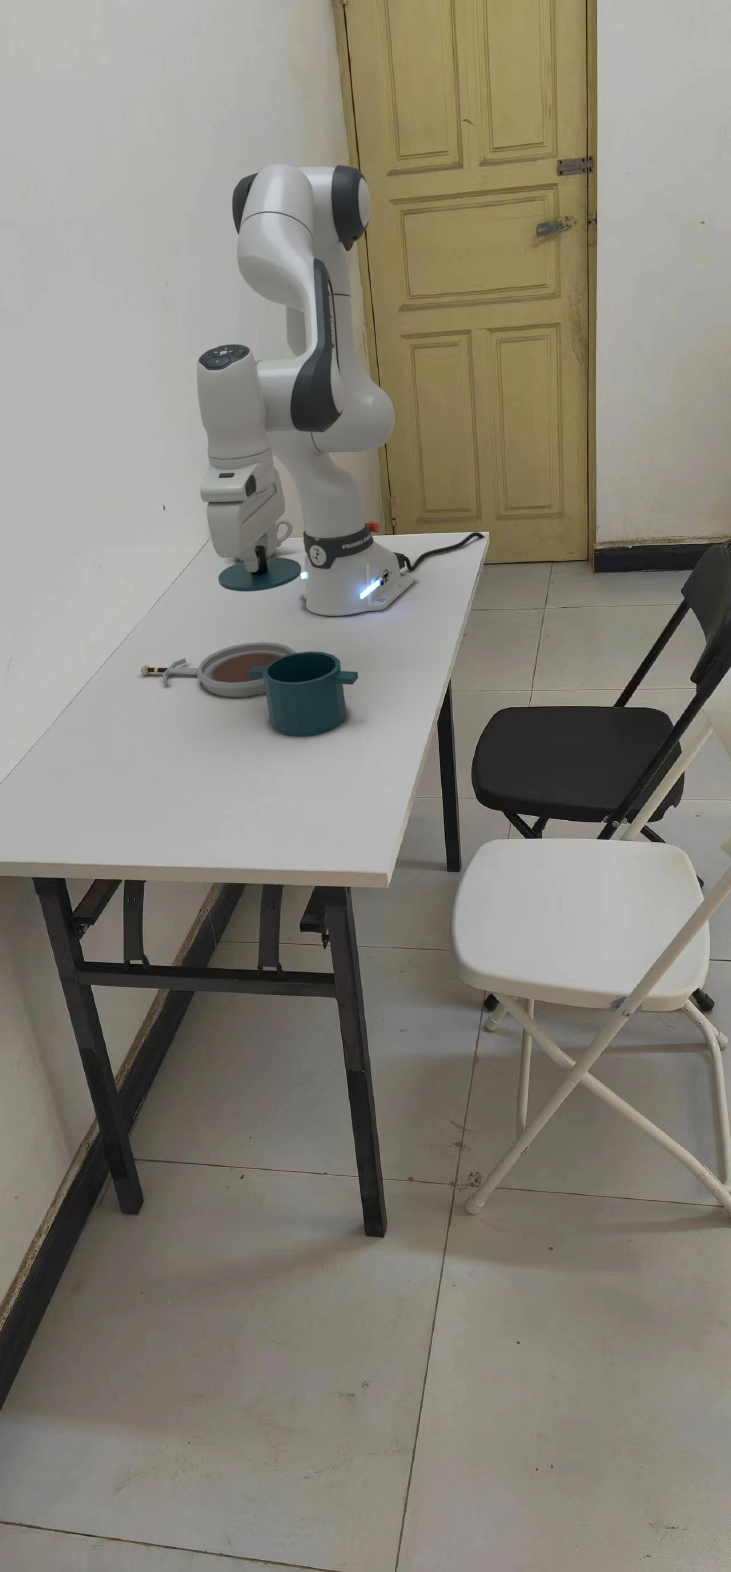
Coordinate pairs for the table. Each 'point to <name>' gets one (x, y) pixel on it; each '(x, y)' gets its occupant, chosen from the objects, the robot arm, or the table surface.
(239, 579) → the lid
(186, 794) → the table surface
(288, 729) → the pot
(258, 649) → the frying pan
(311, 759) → the table surface
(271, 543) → the teacup
